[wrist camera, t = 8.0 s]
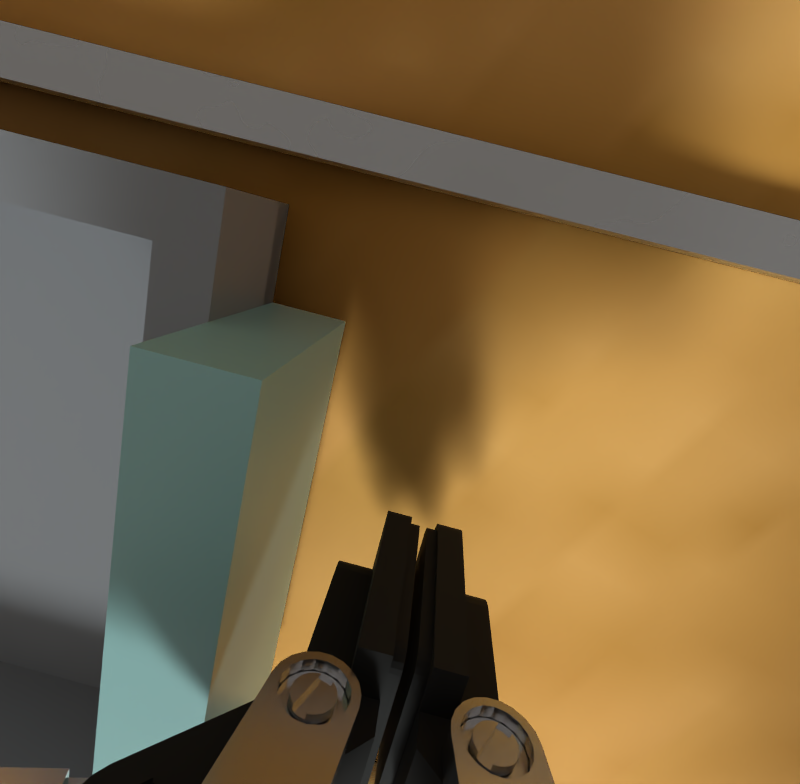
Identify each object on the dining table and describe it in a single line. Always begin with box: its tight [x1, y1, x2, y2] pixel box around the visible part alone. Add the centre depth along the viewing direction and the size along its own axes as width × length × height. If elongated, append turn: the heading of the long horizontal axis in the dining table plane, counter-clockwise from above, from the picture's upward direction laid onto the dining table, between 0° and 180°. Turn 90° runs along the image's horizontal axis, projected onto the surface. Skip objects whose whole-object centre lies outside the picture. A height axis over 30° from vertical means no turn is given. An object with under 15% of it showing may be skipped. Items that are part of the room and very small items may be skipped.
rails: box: [0, 20, 800, 784], centre depth 12 cm, size 36×18×3 cm, turn 77°
